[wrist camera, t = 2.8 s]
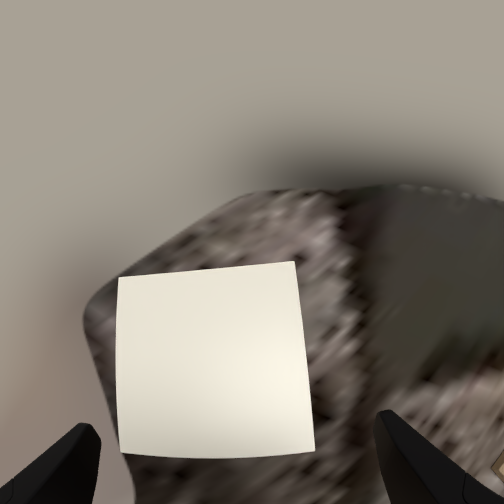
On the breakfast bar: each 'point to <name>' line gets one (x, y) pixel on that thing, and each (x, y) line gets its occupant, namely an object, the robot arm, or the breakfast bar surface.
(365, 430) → the breakfast bar surface
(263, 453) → the module block
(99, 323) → the breakfast bar surface
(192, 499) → the breakfast bar surface
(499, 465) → the rail board
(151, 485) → the breakfast bar surface
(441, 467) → the robot arm
